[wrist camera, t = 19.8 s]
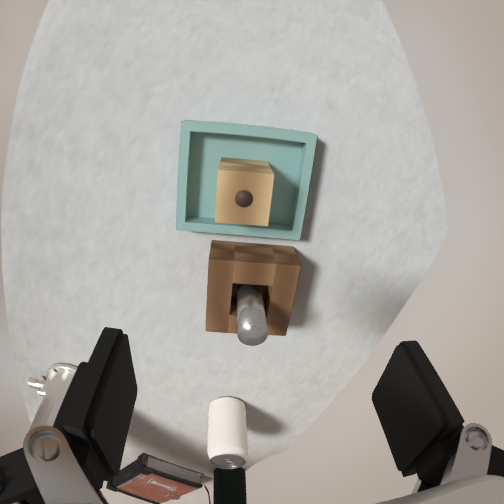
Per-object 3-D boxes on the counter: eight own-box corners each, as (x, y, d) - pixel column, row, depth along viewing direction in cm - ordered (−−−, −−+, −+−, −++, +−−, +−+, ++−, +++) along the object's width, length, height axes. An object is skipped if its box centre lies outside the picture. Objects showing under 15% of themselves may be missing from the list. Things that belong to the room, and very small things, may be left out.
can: (241, 393, 51) (243, 451, 41) (248, 413, 54) (252, 467, 44) (204, 397, 52) (201, 455, 41) (215, 417, 55) (213, 471, 44)
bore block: (208, 307, 43) (205, 331, 39) (211, 240, 39) (208, 259, 34) (280, 312, 44) (285, 335, 40) (293, 246, 40) (300, 265, 35)
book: (160, 493, 75) (158, 506, 71) (109, 474, 70) (106, 488, 65) (205, 473, 67) (204, 489, 63) (143, 451, 62) (140, 468, 57)
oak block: (218, 200, 36) (214, 222, 30) (221, 157, 34) (217, 170, 28) (262, 203, 37) (268, 226, 30) (266, 161, 34) (274, 174, 28)
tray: (179, 222, 38) (175, 230, 35) (184, 120, 32) (181, 121, 30) (295, 231, 39) (299, 240, 37) (311, 133, 34) (317, 135, 32)
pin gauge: (235, 292, 41) (236, 344, 32) (237, 271, 40) (239, 322, 31) (259, 293, 41) (265, 346, 32) (262, 273, 40) (269, 323, 31)
